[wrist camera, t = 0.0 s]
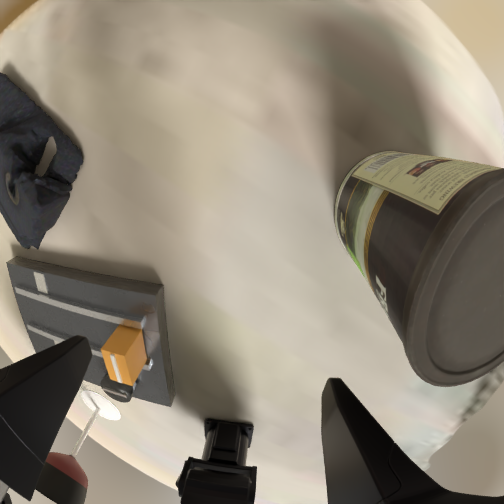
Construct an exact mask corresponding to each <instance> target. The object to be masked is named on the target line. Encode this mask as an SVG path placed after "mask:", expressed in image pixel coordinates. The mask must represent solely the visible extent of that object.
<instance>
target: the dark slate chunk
mask: <svg viewBox="0 0 504 504" xmlns="http://www.w3.org/2000/svg"><path fill="white" fill-rule="evenodd" d="M51 136H53V137H54V140H55V143H56V148H57V152H56V154H55V155H54V157H53V159H52V161H51V162H50V165H49V167H48V169H47V171H46V173H45V174H44V176H42V177H40V176H38V174H34V173H35V168H36V166H37V165H38V164H39V163H40V161H41V158H42V155H43V152H44V150H45V147H46V144H47V142H48V139H49V137H51ZM82 163H83V160H82V153H81V150H80V149H78V147H77V146H76V145H74V144H72V142H71V140H70V139H69V137H68V136H67V135H65V134H63V132H62V131H61V130H60V129H59V128H58V126H57V125H56V124H55V123H54V121H53V120H52V119H51V118H50V117H49V116H48V115H47V114H46V112H44V111H43V110H41V108H40V107H39V106H36V104H35V103H34V101H32V100H30V99H29V98H28V96H27V95H26V94H25V93H24V92H22V91H21V89H20V88H18V87H17V86H15V85H14V84H13V83H12V82H11V81H10V80H9V78H8V77H7V76H6V75H5V74H2V73H0V212H1V214H2V215H3V217H4V219H5V221H6V223H7V224H8V226H9V228H10V229H11V231H12V233H13V234H14V235H15V237H16V239H17V241H18V242H20V244H21V246H22V247H24V248H27V249H29V248H30V246H34V247H35V248H36V249H39V246H40V243H41V241H42V239H43V237H44V235H45V233H46V231H48V230H49V229H50V228H52V227H53V226H54V225H55V223H56V221H57V219H58V218H59V216H60V214H61V212H62V210H63V208H64V206H65V205H66V203H67V201H68V200H69V197H70V193H69V191H71V190H72V187H71V183H73V182H74V181H75V179H76V178H77V175H76V173H77V172H78V171H79V169H80V165H82ZM68 181H69V182H68ZM67 183H68V185H67Z"/></svg>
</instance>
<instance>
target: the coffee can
mask: <svg viewBox="0 0 504 504" xmlns="http://www.w3.org/2000/svg"><path fill="white" fill-rule="evenodd" d="M335 226H336V230H337V234H338V237H339V239H340V242H341V243H342V245H343V247H344V249H345V250H346V251H347V253H348V254H349V255H350V256H351V257H352V259H353V260H354V262H355V263H356V265H357V266H358V268H359V269H360V271H361V273H362V274H363V276H364V277H365V279H366V281H367V282H368V284H369V285H370V287H371V289H372V290H373V292H374V294H375V295H376V297H377V299H378V300H379V302H380V304H381V306H382V308H383V309H384V311H385V313H386V314H387V316H388V318H389V320H390V321H391V323H392V324H393V327H394V328H395V330H396V332H397V334H398V336H399V337H400V339H401V341H402V342H403V345H404V350H405V353H406V356H407V358H408V360H409V363H410V365H411V367H412V369H413V370H414V371H415V373H416V374H417V375H418V376H419V377H420V378H421V379H422V380H424V381H425V382H427V383H430V384H432V385H434V386H441V387H451V386H457V385H462V384H465V383H468V382H471V381H473V380H476V379H478V378H480V377H482V376H483V375H485V374H487V373H489V372H490V371H492V370H493V369H495V368H496V367H497V366H499V365H500V364H501V363H502V362H504V168H499V167H495V166H490V165H485V164H479V163H474V162H468V161H462V160H456V159H450V158H444V157H435V156H427V155H419V154H408V153H402V152H398V151H385V152H379V153H376V154H373V155H371V156H369V157H367V158H365V159H363V160H362V161H360V162H359V163H358V164H357V165H356V166H355V167H354V168H353V169H352V170H351V171H350V172H349V173H348V174H347V176H346V178H345V179H344V181H343V182H342V184H341V187H340V189H339V192H338V195H337V199H336V204H335Z"/></svg>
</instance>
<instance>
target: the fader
mask: <svg viewBox="0 0 504 504" xmlns="http://www.w3.org/2000/svg"><path fill="white" fill-rule="evenodd" d="M101 352H102V355H103V359H104V362H105V365H106V368H107V371H108V374H109V377H110V379H111V380H114V381H117V382H119V383H124V384H127V385H130V386H133V385H134V383H135V381H136V379H137V377H138V375H139V374H140V372H141V370H142V368H143V366H144V364H145V363H146V361H147V356H146V351H145V345H144V339H143V333H142V329H137V328H133V327H129V326H124V325H120V324H119V326H118V327H117V328H116V330H115V331H114V332H113V333H112V335H111V336H110V337H109V339H108V340H107V341H106V343H105V344H104V345H103V347H102V348H101Z"/></svg>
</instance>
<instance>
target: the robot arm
mask: <svg viewBox="0 0 504 504" xmlns="http://www.w3.org/2000/svg"><path fill="white" fill-rule="evenodd" d="M91 358H92V351H91V348H90V344H89V341H88V339H87V337H85V336H82V335H76V336H73V337H71V338H69V339H67V340H65V341H62V342H60V343H58V344H56V345H53V346H51V347H49V348H47V349H45V350H42V351H40V352H38V353H36V354H33V355H31V356H29V357H27V358H25V359H22V360H20V361H18V362H16V363H13V364H11V365H9V366H7V367H4V368H2V369H0V504H12V502H11V499H10V495H9V494H8V493H7V491H8V489H9V487H10V488H11V489H13V490H14V491H15V492H17V493H18V494H20V495H21V496H22V497H24V498H26V499H27V500H28V501H31V499H32V496H33V493H34V490H35V487H36V485H37V482H38V479H39V477H40V474H41V472H42V469H43V466H44V464H45V461H46V459H47V456H48V454H49V451H50V449H51V447H52V445H53V442H54V440H55V438H56V436H57V433H58V431H59V429H60V427H61V425H62V423H63V420H64V418H65V416H66V414H67V412H68V410H69V408H70V406H71V404H72V402H73V400H74V398H75V396H76V394H77V392H78V390H79V388H80V386H81V383H82V381H83V378H84V376H85V373H86V371H87V368H88V366H89V363H90V361H91ZM253 429H254V426H253V425H249V424H240V423H232V422H225V421H219V420H212V419H205V437H206V442H205V447H204V451H203V455H202V460H201V459H196V458H193V457H189V458H188V460H187V461H185V463H184V467H183V470H182V472H181V474H180V476H179V478H178V479H177V481H176V486H177V487H178V491H179V496H180V497H182V498H181V504H254V500H255V492H256V474H257V466H253V467H250V466H246V458H247V449H248V448H249V447H250V444H251V439H252V434H253ZM321 435H322V445H323V454H324V464H325V474H326V485H327V497H328V504H504V496H500V497H489V496H479V495H471V494H464V493H458V492H452V491H449V490H447V489H445V488H443V487H441V486H440V485H439V484H438V483H436V482H435V481H434V480H433V479H432V478H431V477H429V476H428V475H427V474H426V473H425V472H424V471H423V470H421V469H420V468H419V467H418V466H417V465H416V464H415V463H414V462H413V461H412V460H411V459H410V458H409V457H408V456H407V455H406V454H405V453H404V452H403V451H402V450H401V449H400V447H399V446H398V445H397V444H396V443H394V441H393V439H392V438H391V437H390V436H389V435H388V434H387V432H386V431H385V430H384V429H383V428H382V427H381V425H380V424H379V423H378V422H377V421H376V420H375V418H374V417H373V416H372V415H371V414H370V413H369V411H368V410H367V409H366V408H365V407H364V406H363V404H362V403H361V402H360V401H359V400H358V398H357V397H356V396H355V395H354V394H353V393H352V391H351V390H350V389H349V388H348V387H347V385H346V384H345V383H344V382H343V381H342V379H340V378H329V379H328V380H327V382H326V385H325V387H324V390H323V392H322V420H321Z"/></svg>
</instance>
